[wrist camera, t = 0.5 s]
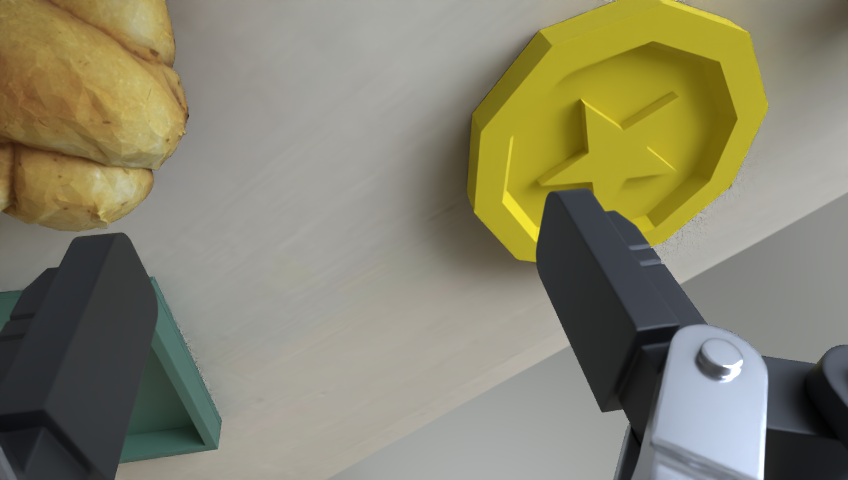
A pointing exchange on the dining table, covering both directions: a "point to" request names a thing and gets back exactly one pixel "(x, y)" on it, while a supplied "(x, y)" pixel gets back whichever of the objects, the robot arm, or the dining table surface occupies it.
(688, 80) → the decorative disc
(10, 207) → the bread roll
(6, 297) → the tray
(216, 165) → the dining table surface
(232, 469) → the dining table surface
